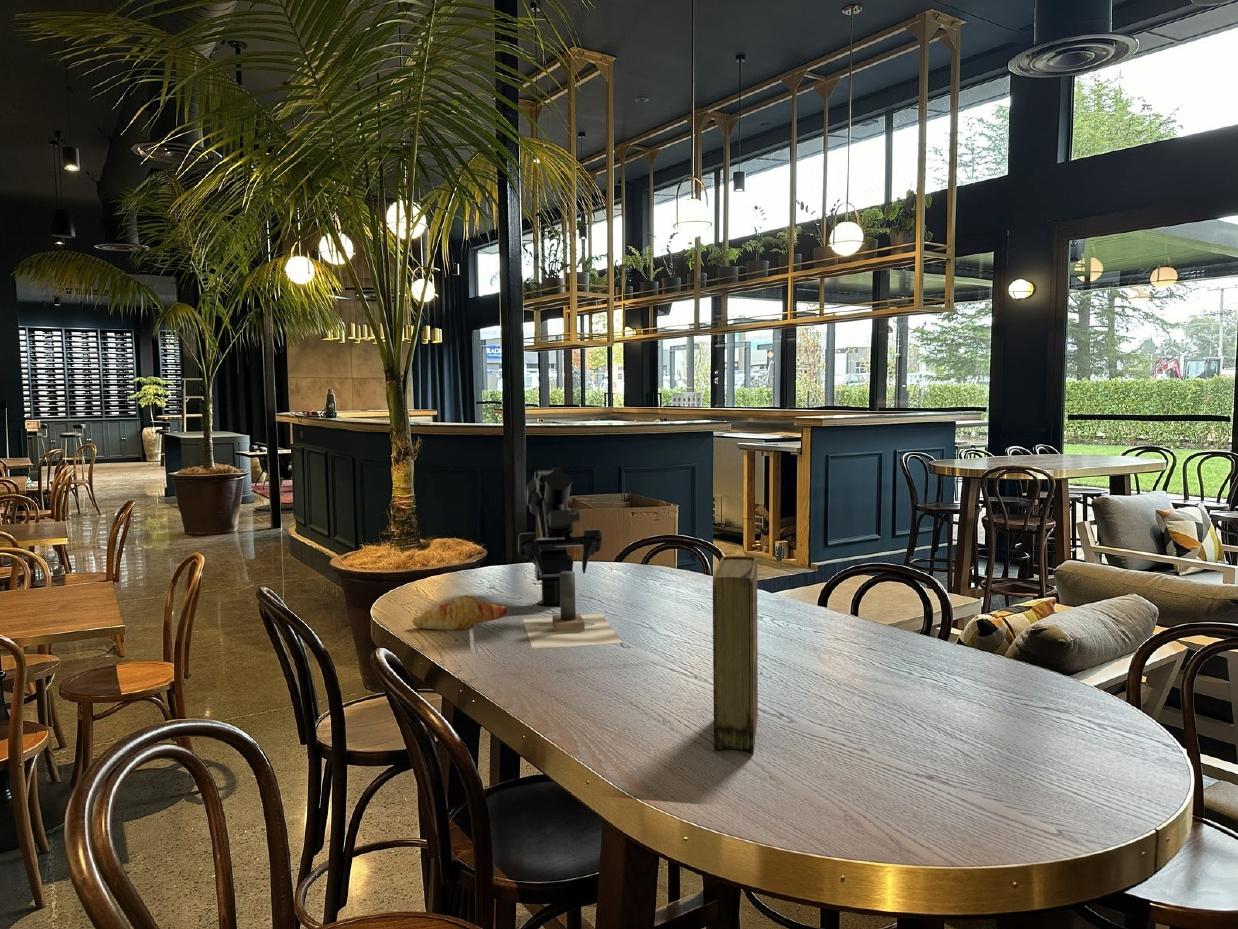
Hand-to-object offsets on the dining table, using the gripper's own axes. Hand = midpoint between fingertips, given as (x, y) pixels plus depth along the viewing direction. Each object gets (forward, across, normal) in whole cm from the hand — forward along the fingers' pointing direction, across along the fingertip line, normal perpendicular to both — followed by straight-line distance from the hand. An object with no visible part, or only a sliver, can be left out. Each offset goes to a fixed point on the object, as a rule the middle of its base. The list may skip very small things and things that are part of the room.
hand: (563, 573), depth 185 cm
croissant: (+4, -23, +13) cm, 27 cm away
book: (+55, +18, -38) cm, 69 cm away
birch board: (+14, 0, +3) cm, 14 cm away
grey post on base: (+12, 0, +3) cm, 12 cm away
